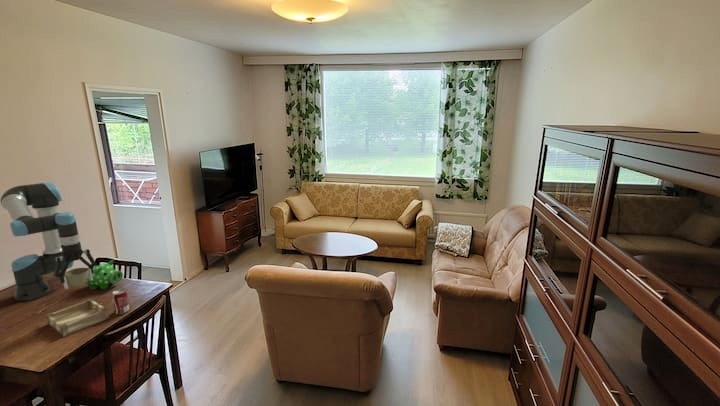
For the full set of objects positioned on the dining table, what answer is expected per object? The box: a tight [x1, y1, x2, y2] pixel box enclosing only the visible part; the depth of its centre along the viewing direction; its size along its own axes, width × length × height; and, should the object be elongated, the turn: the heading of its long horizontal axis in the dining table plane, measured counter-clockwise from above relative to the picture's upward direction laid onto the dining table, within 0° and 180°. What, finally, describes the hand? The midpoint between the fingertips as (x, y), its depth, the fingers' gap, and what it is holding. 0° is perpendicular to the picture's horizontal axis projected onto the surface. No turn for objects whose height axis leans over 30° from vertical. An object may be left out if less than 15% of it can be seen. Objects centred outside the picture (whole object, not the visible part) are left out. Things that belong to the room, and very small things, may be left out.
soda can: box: [111, 288, 130, 315], centre depth 183 cm, size 7×7×12 cm
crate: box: [46, 298, 110, 338], centre depth 175 cm, size 19×19×5 cm
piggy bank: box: [85, 259, 124, 290], centre depth 210 cm, size 14×18×15 cm
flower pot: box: [64, 267, 89, 287], centre depth 176 cm, size 10×10×7 cm
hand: (79, 283), depth 176 cm, fingers closed on flower pot, 10 cm apart
